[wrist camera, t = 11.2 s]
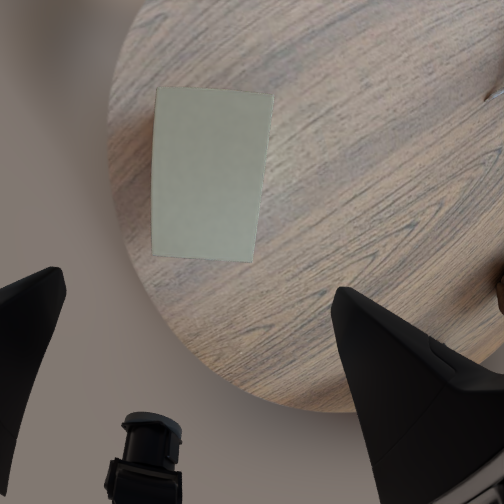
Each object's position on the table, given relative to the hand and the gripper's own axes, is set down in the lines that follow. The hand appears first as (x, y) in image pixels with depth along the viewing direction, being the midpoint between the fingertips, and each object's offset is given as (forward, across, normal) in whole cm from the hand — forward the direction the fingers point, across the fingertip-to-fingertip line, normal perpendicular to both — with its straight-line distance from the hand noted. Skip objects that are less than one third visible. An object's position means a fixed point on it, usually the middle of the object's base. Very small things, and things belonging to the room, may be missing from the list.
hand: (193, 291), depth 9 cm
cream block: (+8, 0, -2) cm, 8 cm away
